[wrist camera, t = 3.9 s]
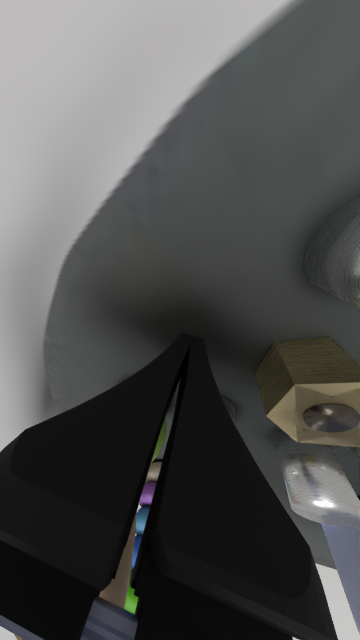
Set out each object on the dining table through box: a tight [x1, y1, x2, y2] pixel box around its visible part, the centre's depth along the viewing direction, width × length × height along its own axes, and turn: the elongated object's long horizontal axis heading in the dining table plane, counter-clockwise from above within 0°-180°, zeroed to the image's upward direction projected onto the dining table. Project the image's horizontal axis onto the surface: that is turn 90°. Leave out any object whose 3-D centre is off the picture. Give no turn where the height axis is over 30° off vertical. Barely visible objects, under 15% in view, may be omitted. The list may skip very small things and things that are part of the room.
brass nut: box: [255, 337, 360, 447], centre depth 8 cm, size 5×4×3 cm
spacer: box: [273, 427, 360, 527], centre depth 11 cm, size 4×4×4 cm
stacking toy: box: [124, 462, 162, 614], centre depth 14 cm, size 8×8×19 cm
